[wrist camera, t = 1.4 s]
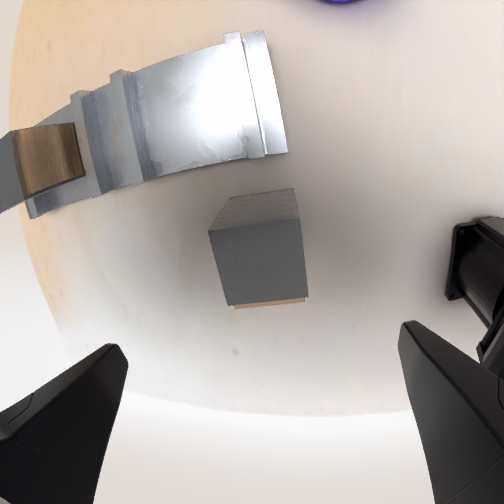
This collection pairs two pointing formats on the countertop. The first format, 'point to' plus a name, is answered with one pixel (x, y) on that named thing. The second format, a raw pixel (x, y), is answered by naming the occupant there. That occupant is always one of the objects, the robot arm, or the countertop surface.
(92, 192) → the rail
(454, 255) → the robot arm
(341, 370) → the countertop surface
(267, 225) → the gray block
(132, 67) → the countertop surface
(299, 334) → the countertop surface
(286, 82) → the countertop surface
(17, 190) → the wooden block
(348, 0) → the bottle
